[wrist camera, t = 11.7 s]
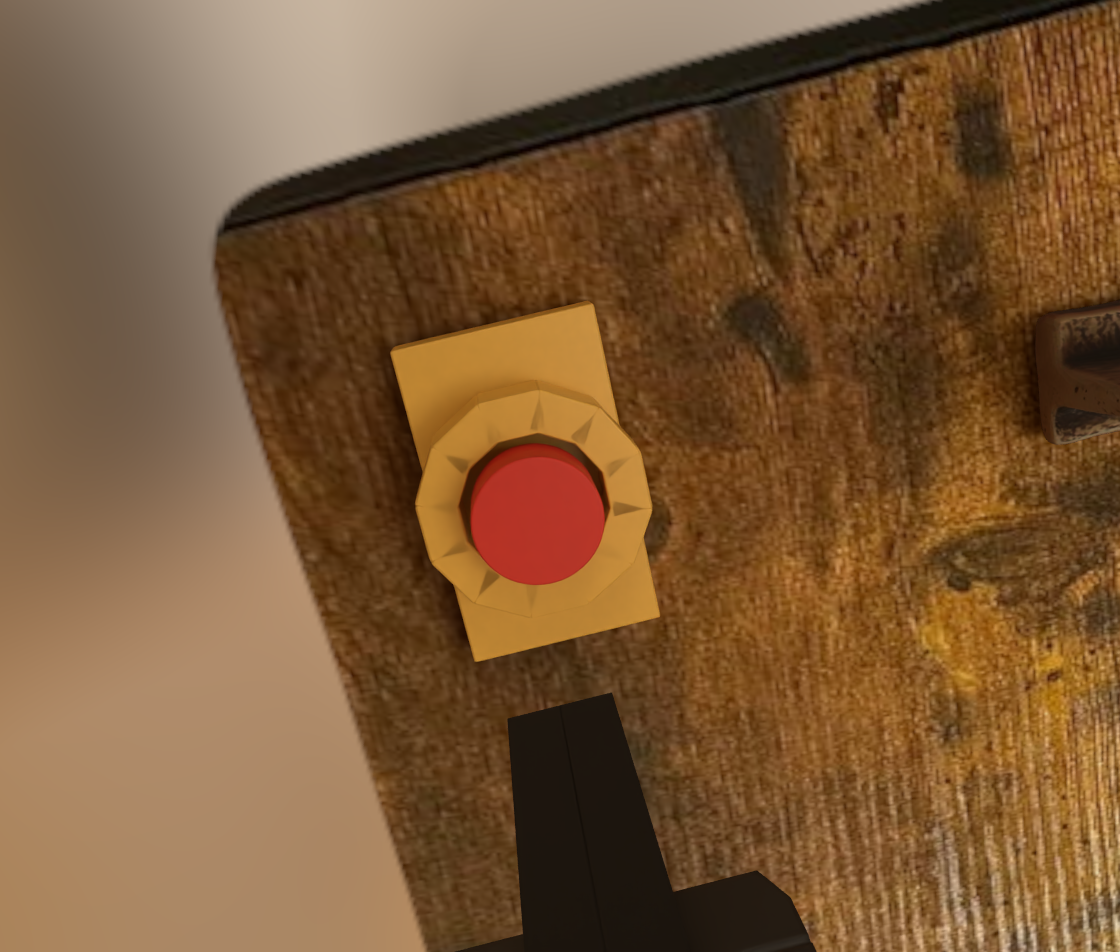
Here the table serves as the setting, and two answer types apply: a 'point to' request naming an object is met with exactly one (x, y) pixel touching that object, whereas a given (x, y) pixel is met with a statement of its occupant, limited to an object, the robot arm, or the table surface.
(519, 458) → the button
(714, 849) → the table surface
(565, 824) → the robot arm
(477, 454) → the button block
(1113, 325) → the statue
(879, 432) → the table surface
